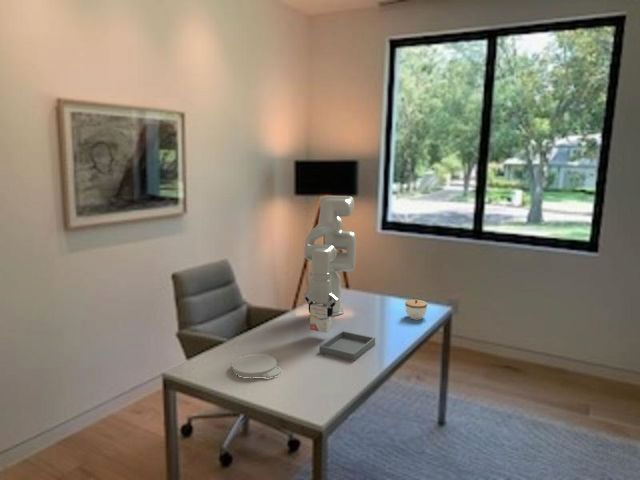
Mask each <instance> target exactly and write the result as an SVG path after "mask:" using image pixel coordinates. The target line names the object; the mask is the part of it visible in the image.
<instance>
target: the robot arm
mask: <svg viewBox="0 0 640 480" xmlns="http://www.w3.org/2000/svg"><path fill="white" fill-rule="evenodd" d="M319 207H320V208H319V209H320V211H319V216H318V224H317V225H316V226H314V228H312V229H311V231H310V232H309V233H308V234H307V236H306V239H305V244H304V251H303V256H304V258H305V259H306V260H307V261H311V272H309V276H310V277H311V278H310V279H309V283H308V291H305V292H303V296H304V300H305V301H306V302H307V305H308V313H309V314H310V305H311V304H313V303H314V302H317V303H322V304H327V306H328V307H329V308H328V309H327V316H328V317H330V316H331V317H332V316H333V317H335V316H341V315H343V314H344V308H342V278H341V276H340V274H339V273H338V272H353V271H354V270H355V268H356V257H357V255H356V254H357V252H356V251H357V238H356V234H355V232H353V231H350V230H343V229H342V227H343V221H342V218H343V217H345V218H346V217H350V216H351V215H352V213H353V212H354V210H355V199H354V198H353V197H352V196H350V195H349V196H348V195H323V196H321V197H320V198H319ZM341 217H342V218H341ZM322 237H324V244H319V243H314V242H315V241H316V240H318V239H320V238H322ZM337 250H339V251H340V250H341V251H342V250H343V251H346V252H341V251H340V252H339V251H337Z"/></svg>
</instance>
